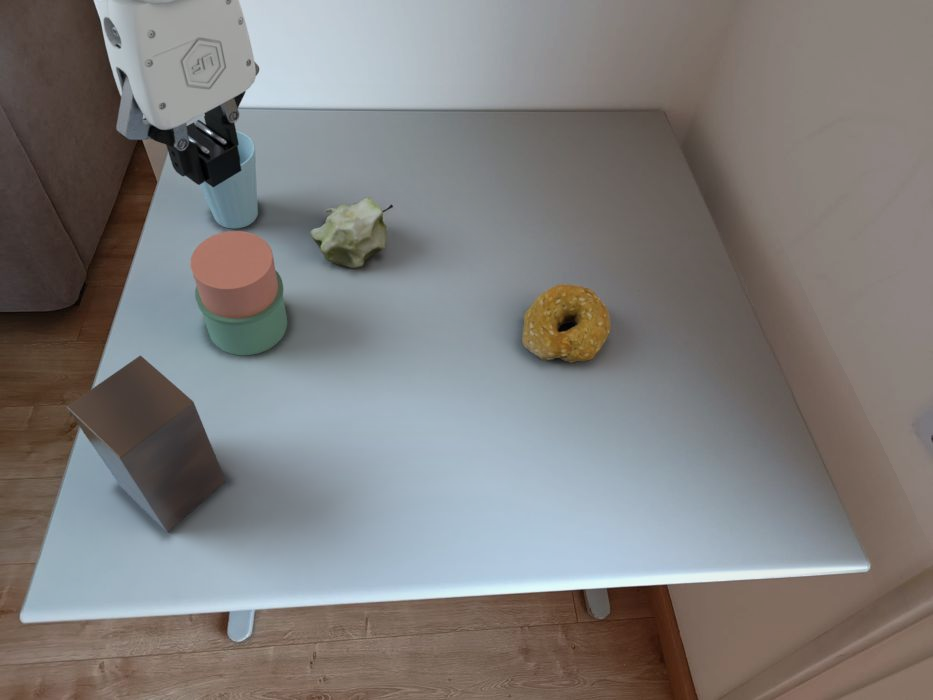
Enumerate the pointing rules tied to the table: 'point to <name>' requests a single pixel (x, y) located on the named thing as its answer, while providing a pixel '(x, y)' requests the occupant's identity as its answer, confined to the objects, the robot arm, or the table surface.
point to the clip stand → (150, 441)
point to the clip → (214, 153)
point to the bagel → (564, 308)
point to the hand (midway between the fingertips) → (208, 164)
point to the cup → (236, 190)
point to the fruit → (352, 233)
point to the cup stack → (239, 292)
